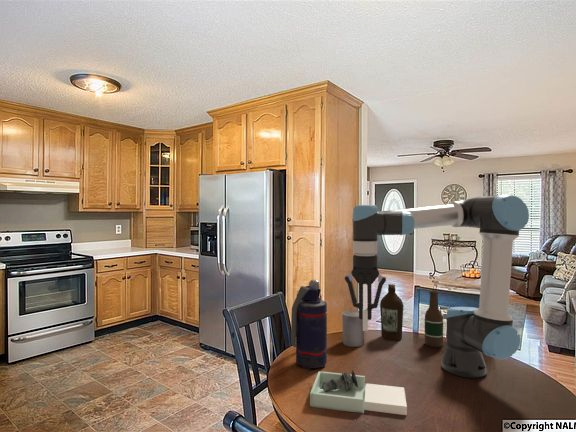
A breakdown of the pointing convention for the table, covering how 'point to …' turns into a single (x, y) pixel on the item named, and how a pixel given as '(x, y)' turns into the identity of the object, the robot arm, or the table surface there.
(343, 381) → the dark grey tall piece
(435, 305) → the beer bottle
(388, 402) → the white square slab
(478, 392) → the table surface
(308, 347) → the grenade
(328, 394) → the box
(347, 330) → the pillar candle
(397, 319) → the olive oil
